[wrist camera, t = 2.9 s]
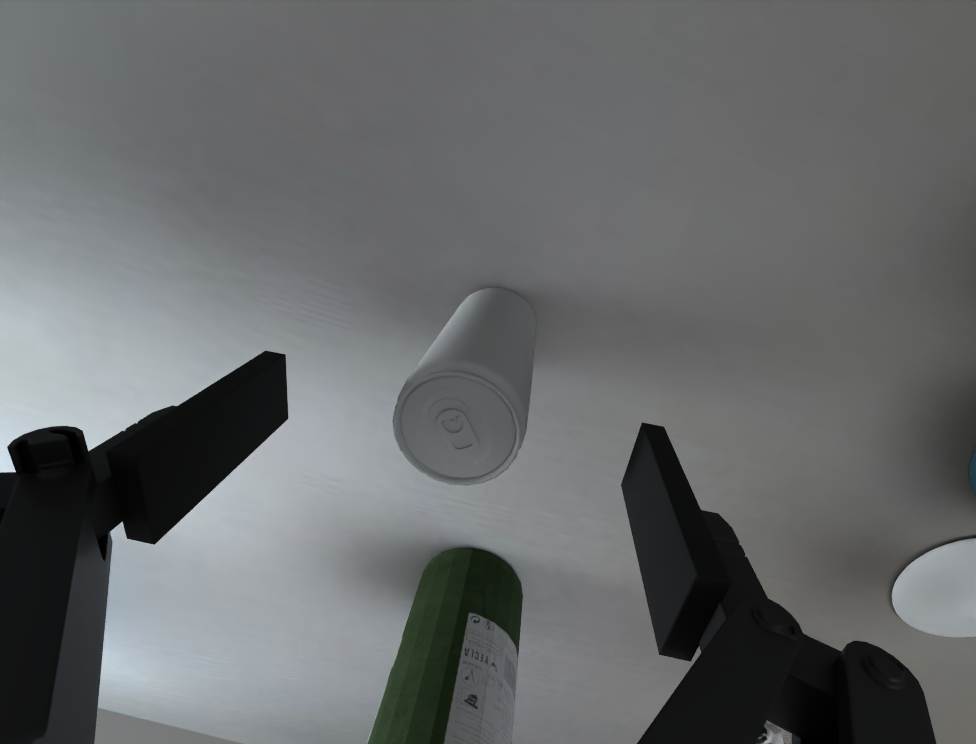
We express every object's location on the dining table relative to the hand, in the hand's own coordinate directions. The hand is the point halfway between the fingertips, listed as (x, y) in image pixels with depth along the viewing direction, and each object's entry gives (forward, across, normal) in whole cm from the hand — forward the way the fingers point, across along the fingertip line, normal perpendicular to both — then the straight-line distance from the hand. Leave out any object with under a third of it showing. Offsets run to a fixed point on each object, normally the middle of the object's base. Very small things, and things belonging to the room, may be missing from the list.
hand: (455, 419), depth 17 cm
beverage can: (+11, 0, 0) cm, 11 cm away
